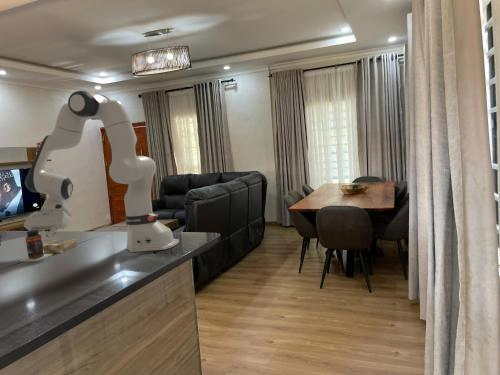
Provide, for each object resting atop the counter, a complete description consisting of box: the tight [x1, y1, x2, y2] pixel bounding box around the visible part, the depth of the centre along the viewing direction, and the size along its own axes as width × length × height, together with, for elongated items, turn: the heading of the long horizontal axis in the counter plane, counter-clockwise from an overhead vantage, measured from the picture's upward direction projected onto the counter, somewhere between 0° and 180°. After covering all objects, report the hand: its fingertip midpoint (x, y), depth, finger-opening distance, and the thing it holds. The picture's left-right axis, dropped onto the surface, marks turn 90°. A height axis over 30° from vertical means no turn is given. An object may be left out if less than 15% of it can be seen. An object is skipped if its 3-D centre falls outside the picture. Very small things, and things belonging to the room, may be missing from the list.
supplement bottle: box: [25, 230, 45, 259], centre depth 163 cm, size 6×6×11 cm
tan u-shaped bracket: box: [42, 238, 78, 254], centre depth 176 cm, size 13×10×4 cm
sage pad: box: [18, 253, 54, 262], centre depth 164 cm, size 9×9×1 cm
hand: (38, 237), depth 166 cm, fingers open, 8 cm apart
